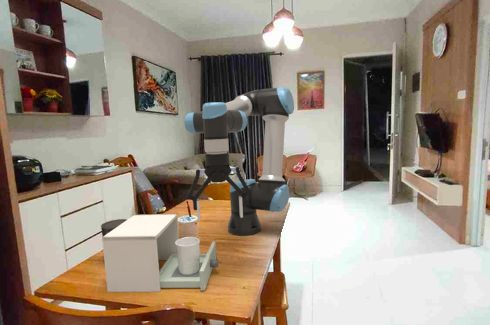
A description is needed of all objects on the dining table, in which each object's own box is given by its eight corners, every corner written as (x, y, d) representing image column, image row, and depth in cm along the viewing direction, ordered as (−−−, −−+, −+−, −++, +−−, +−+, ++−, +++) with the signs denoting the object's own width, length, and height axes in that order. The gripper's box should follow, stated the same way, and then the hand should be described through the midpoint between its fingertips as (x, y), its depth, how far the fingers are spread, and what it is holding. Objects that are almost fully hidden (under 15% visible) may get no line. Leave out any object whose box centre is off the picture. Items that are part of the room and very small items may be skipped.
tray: (222, 257, 112) (222, 241, 111) (212, 290, 90) (211, 271, 89) (173, 257, 113) (172, 242, 112) (150, 290, 91) (149, 271, 90)
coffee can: (100, 267, 109) (96, 228, 107) (110, 254, 119) (106, 219, 117) (129, 264, 110) (126, 226, 108) (137, 253, 120) (134, 218, 118)
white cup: (204, 272, 99) (202, 242, 98) (180, 278, 95) (178, 247, 94) (197, 262, 106) (195, 235, 105) (174, 268, 102) (172, 239, 101)
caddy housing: (180, 258, 113) (177, 213, 111) (159, 291, 91) (155, 236, 89) (138, 259, 114) (134, 214, 112) (107, 291, 92) (102, 237, 90)
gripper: (254, 149, 101) (256, 211, 104) (177, 153, 98) (182, 217, 101) (258, 151, 94) (260, 218, 96) (175, 156, 91) (180, 225, 93)
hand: (220, 218), depth 99 cm, fingers open, 13 cm apart
